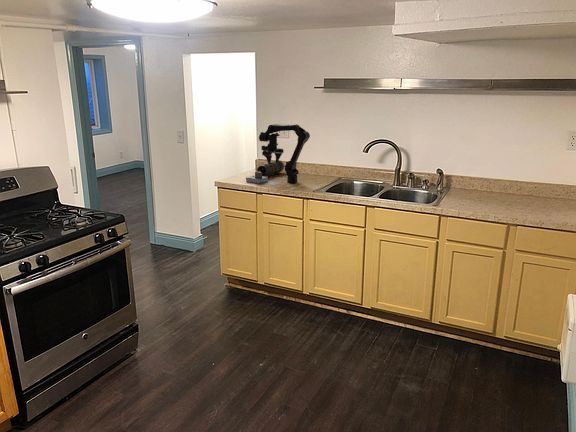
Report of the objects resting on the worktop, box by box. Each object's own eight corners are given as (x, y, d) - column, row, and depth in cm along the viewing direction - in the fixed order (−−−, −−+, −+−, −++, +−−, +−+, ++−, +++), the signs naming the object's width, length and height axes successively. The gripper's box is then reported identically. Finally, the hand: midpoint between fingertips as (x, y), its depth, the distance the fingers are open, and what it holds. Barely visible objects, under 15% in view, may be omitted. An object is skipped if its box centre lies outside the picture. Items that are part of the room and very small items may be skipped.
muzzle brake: (256, 178, 361) (256, 164, 358) (275, 172, 384) (275, 159, 382) (267, 179, 356) (267, 165, 354) (285, 173, 380) (285, 160, 377)
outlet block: (267, 182, 345) (267, 177, 344) (259, 184, 337) (259, 179, 336) (255, 180, 352) (254, 175, 351) (246, 182, 344) (246, 177, 343)
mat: (280, 183, 341) (280, 182, 341) (273, 185, 334) (273, 185, 334) (270, 182, 346) (270, 181, 346) (263, 184, 339) (263, 183, 339)
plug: (262, 181, 343) (262, 172, 341) (259, 182, 341) (259, 172, 339) (257, 180, 346) (257, 171, 344) (255, 181, 343) (255, 171, 342)
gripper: (271, 140, 354) (272, 160, 358) (256, 142, 339) (256, 164, 344) (284, 141, 348) (283, 162, 352) (268, 143, 333) (268, 165, 337)
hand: (273, 163), depth 346 cm, fingers open, 9 cm apart
